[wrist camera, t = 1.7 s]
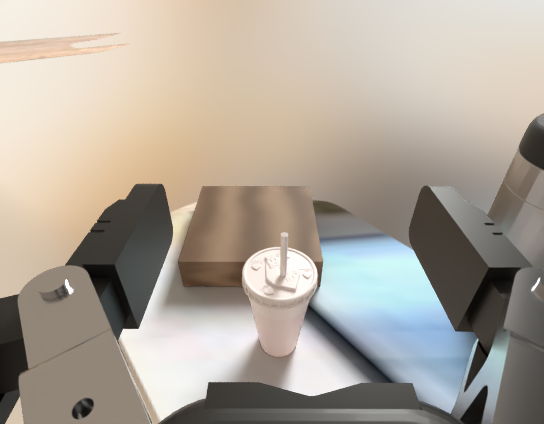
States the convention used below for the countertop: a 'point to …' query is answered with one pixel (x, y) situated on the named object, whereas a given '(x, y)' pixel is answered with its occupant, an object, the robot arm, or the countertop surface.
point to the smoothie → (279, 294)
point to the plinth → (245, 231)
